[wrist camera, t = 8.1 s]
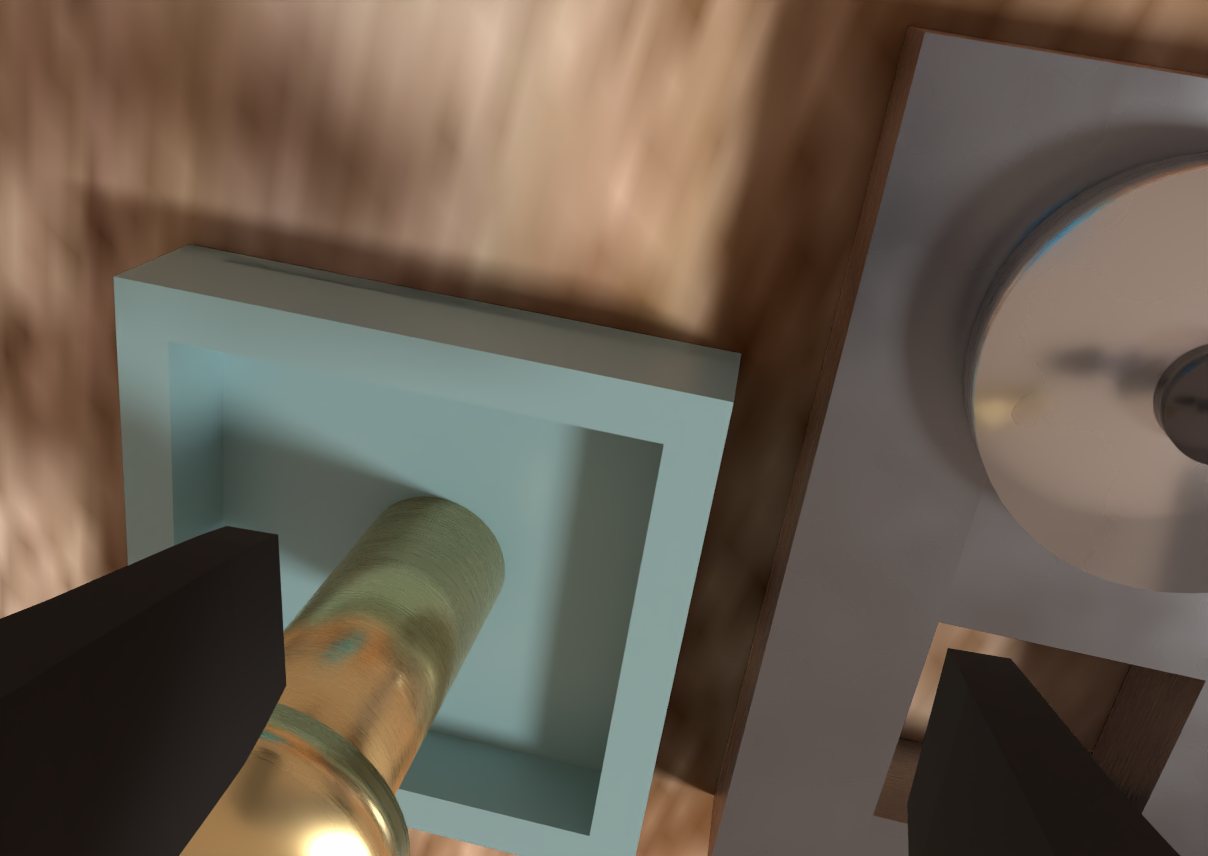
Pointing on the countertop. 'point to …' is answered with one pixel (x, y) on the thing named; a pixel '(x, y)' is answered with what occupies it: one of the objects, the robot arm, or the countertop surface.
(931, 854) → the robot arm
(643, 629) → the pin tray
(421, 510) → the pin
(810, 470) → the grey flat block
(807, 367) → the countertop surface
